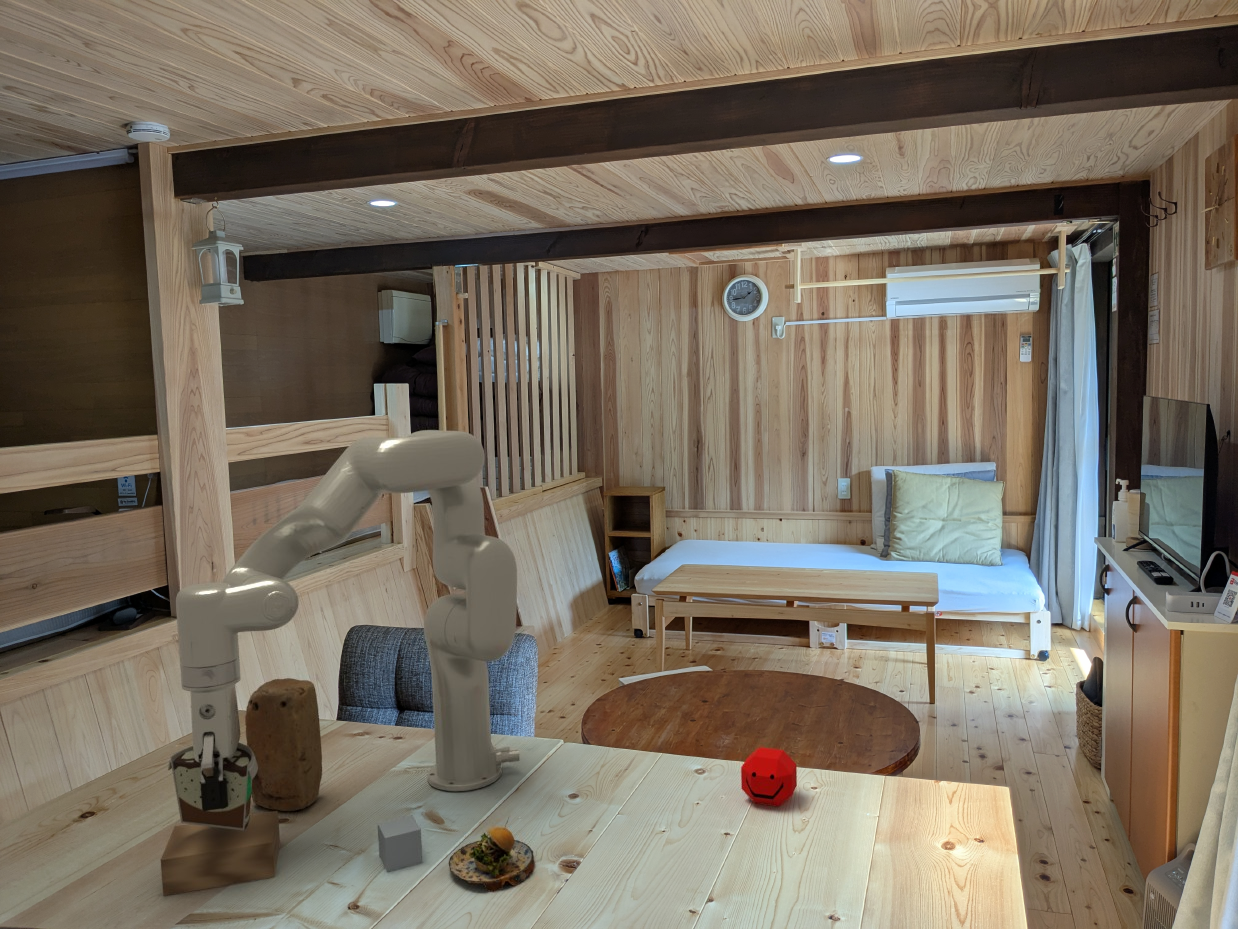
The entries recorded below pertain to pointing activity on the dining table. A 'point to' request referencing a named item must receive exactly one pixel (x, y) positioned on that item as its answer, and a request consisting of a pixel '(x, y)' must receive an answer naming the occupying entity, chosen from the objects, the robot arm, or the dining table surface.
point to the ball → (769, 776)
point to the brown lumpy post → (285, 744)
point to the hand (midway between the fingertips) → (219, 796)
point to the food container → (238, 788)
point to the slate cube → (400, 843)
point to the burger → (493, 860)
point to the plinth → (220, 855)
